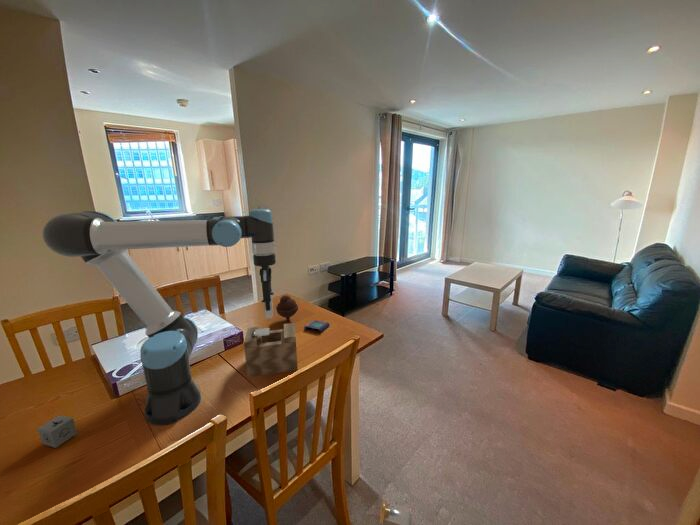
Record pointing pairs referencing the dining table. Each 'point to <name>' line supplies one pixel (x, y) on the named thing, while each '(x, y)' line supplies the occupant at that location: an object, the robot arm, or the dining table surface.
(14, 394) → the dining table surface
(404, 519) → the pin
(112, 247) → the robot arm
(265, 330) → the clip tab
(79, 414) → the dining table surface
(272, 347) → the hitch block
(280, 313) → the ice cream bowl
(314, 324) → the blue flat box
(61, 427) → the grey toy block
